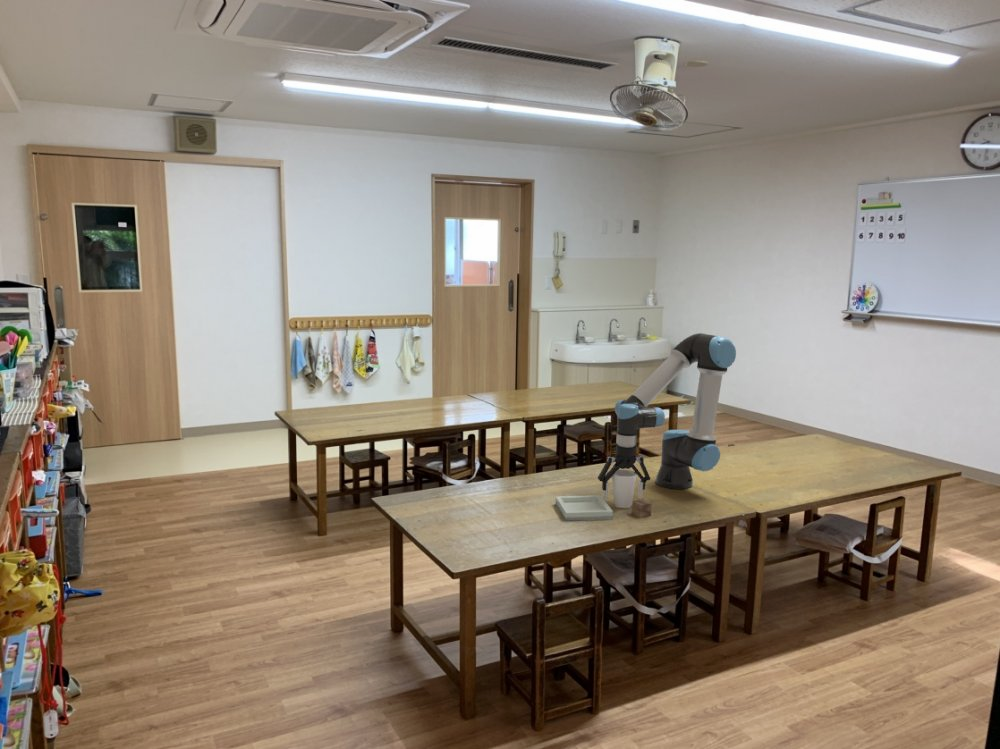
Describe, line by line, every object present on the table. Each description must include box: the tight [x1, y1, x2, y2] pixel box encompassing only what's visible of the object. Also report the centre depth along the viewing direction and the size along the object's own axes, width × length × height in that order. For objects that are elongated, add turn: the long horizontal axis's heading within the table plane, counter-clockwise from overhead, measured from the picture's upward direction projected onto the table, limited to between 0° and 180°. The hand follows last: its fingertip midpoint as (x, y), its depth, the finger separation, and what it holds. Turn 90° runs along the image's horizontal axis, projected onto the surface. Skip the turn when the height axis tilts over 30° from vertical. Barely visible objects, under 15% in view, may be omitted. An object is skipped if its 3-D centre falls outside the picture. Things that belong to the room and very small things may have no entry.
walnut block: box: [631, 498, 653, 519], centre depth 277 cm, size 5×5×5 cm
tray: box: [554, 494, 614, 522], centre depth 279 cm, size 18×18×3 cm
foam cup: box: [611, 468, 638, 509], centre depth 285 cm, size 10×9×13 cm
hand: (622, 498), depth 286 cm, fingers open, 13 cm apart
